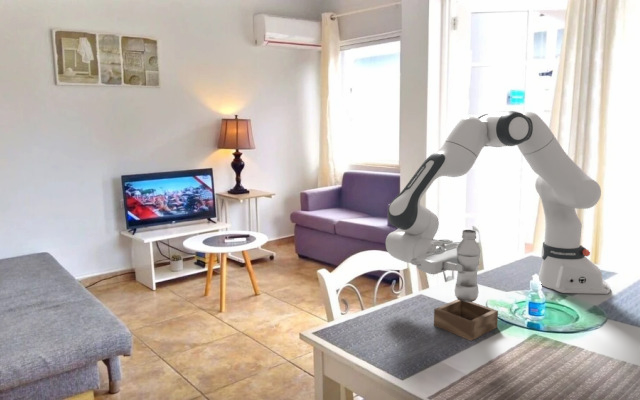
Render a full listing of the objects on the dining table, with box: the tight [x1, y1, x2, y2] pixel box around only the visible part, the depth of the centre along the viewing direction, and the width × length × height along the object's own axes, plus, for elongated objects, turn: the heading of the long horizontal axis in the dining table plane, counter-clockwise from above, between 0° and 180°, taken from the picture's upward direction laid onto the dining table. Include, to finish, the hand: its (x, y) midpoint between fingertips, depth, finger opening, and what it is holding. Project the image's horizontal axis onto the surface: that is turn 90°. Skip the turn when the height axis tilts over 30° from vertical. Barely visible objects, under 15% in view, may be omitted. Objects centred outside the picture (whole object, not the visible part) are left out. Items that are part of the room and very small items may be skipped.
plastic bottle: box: [454, 229, 481, 302], centre depth 139 cm, size 6×7×20 cm
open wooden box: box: [433, 298, 499, 342], centre depth 141 cm, size 12×12×5 cm
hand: (470, 265), depth 138 cm, fingers closed on plastic bottle, 5 cm apart
